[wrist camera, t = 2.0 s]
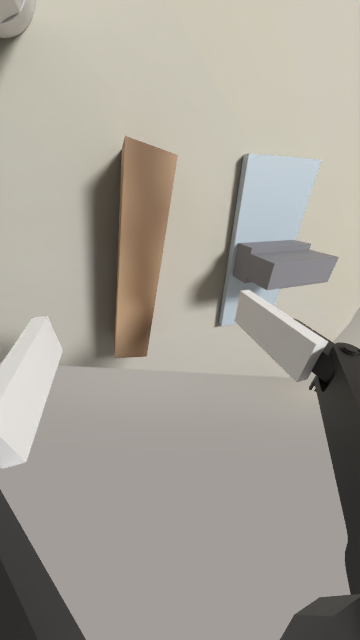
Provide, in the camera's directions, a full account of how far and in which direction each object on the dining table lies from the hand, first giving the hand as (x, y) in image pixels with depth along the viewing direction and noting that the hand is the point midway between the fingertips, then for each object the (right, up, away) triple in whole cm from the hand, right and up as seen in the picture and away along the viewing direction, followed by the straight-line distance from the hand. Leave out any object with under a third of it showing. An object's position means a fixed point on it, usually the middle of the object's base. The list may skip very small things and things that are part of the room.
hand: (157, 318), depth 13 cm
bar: (-4, +7, +10) cm, 13 cm away
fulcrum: (+13, +9, +14) cm, 22 cm away
